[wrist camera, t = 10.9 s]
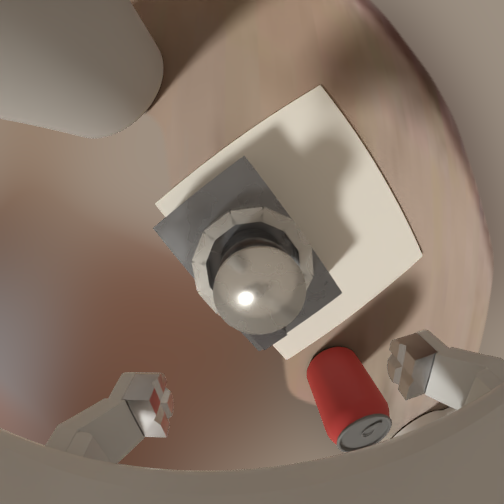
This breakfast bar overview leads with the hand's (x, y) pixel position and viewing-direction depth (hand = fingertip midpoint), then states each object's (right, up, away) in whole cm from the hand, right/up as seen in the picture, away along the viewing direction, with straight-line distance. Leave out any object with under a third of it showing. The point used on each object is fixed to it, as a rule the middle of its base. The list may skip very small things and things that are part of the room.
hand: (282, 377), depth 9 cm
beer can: (+9, -10, +23) cm, 26 cm away
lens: (-1, +4, +13) cm, 14 cm away
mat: (+4, +6, +19) cm, 20 cm away
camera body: (-1, +5, +18) cm, 19 cm away
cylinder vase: (-16, +22, +14) cm, 30 cm away
